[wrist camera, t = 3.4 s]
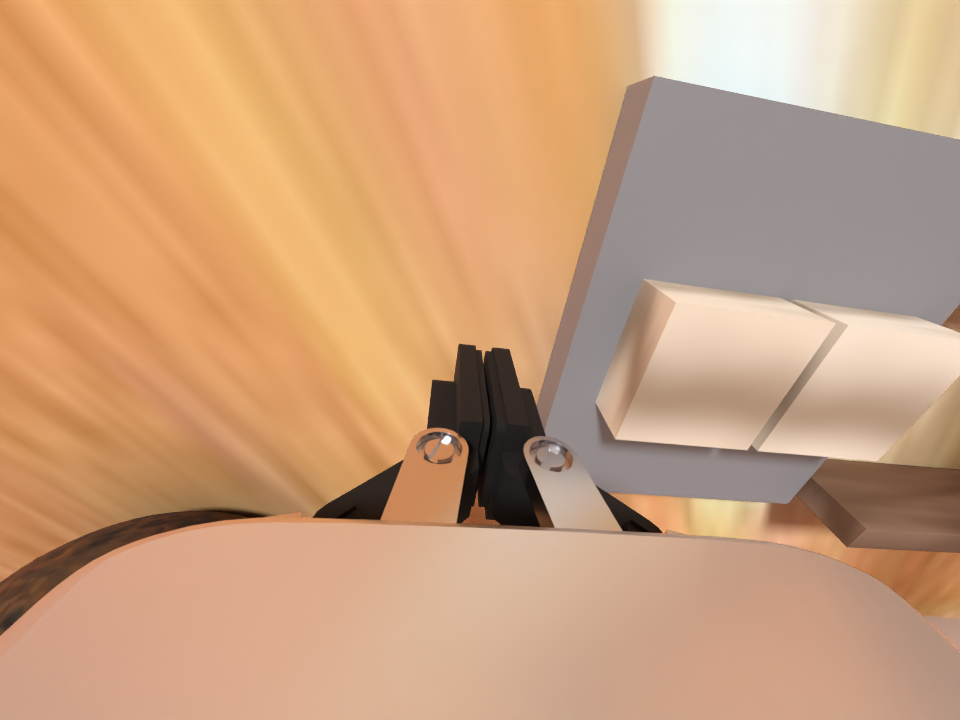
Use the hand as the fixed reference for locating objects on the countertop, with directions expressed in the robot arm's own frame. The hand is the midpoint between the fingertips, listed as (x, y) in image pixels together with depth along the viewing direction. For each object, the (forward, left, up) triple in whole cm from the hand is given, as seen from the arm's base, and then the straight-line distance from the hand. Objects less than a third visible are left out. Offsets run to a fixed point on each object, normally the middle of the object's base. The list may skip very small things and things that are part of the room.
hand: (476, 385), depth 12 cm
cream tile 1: (0, +9, -3) cm, 10 cm away
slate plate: (0, +12, -5) cm, 13 cm away
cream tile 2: (0, +16, -3) cm, 16 cm away
